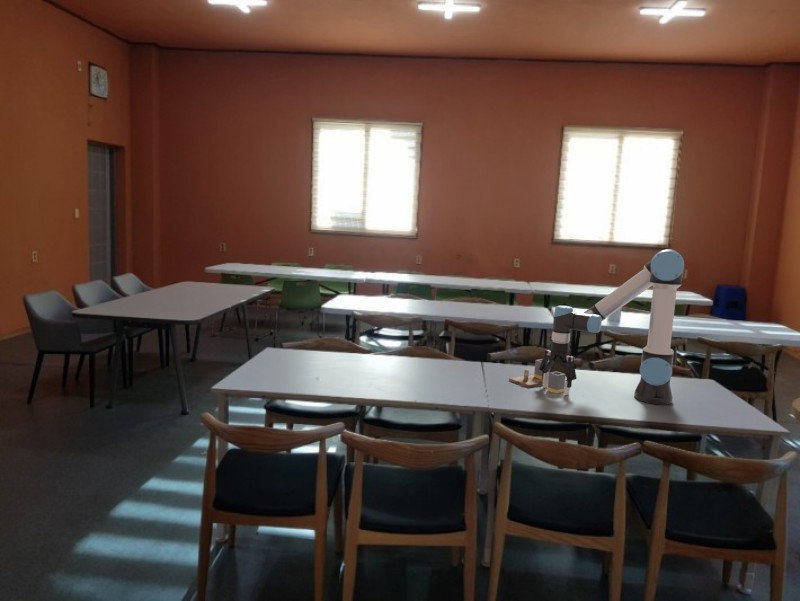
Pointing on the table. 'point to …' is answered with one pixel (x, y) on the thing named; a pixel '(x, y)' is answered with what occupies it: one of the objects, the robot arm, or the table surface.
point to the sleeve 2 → (556, 382)
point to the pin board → (529, 383)
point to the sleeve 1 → (538, 372)
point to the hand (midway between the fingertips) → (555, 390)
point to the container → (556, 365)
